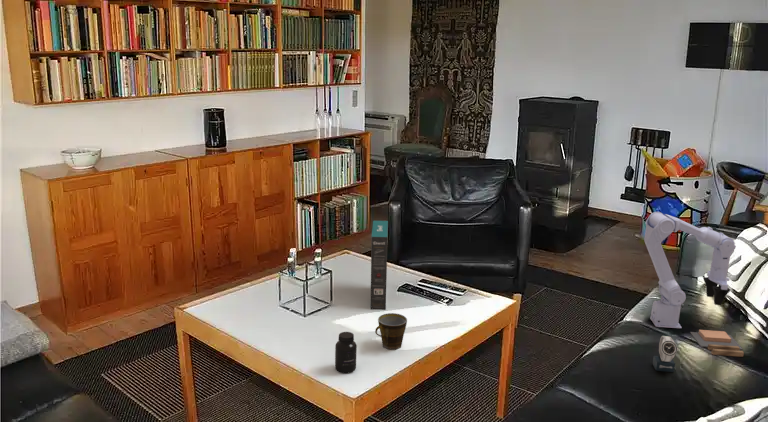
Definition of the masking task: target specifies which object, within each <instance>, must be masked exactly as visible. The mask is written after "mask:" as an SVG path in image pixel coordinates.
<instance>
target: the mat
mask: <svg viewBox="0 0 768 422" xmlns="http://www.w3.org/2000/svg"><path fill="white" fill-rule="evenodd" d="M689 334H690V335H691V336H692V338H693V339H694V340H695V342H697V344H698V345H699V346H700V348H708V344H713V345H727V346H738V347H739V348H740V349H739V351H743V350H744V348H743V347H741V345H740V344H739V343H738V341H736V339H734V337H733V336H732V335H731V334H728V336H729V337H730V338H731V343H727V342H713V341H704V340H703V338H702V337H701V336H700V335H699V332H694V331H690V332H689Z"/></svg>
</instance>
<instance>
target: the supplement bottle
mask: <svg viewBox="0 0 768 422" xmlns="http://www.w3.org/2000/svg"><path fill="white" fill-rule="evenodd" d="M357 347H358V345H357V343H356V342H355V335H354V333H353V332H351V331H342V332H340V333H338V341H336V343H335V347H334V368H335V371H337V372H338V373H339V374H345V375H346V374H352V373H353V372H354V371H356V370H357V349H358V348H357Z"/></svg>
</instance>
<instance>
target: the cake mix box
mask: <svg viewBox="0 0 768 422" xmlns="http://www.w3.org/2000/svg"><path fill="white" fill-rule="evenodd" d="M371 228H372V229H371V244H370V246H371V248H370V251H371V256H370V257H371V258H370V259H371V260H370V310H373V311H374V310H377V311H379V310H380V311H382V310H383V311H386V310H387V309H386V308H387V275H388V274H387V273H388V272H387V271H388V266H387V265H388V235H389V233H388V231H389V229H388V228H389V221H388V220H373V221H372V227H371Z"/></svg>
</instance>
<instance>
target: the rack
mask: <svg viewBox="0 0 768 422" xmlns="http://www.w3.org/2000/svg"><path fill="white" fill-rule="evenodd" d="M739 349H740V348H739V347H738V346H727V345H713V344H708V347H707V350H708V351H711V352H710V353H711V354H712V355H714V356H715V355H716V356H728V357H739V358H740V357H741V358H743V357H744V354H745V353H744V351H743V350H739Z"/></svg>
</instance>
